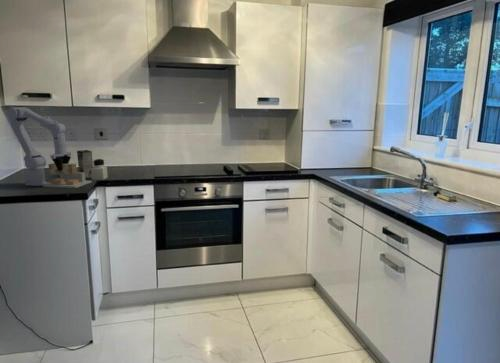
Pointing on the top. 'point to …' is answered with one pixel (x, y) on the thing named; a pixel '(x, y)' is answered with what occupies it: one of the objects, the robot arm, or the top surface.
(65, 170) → the ash bar
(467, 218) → the top surface
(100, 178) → the medicine bottle
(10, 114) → the robot arm
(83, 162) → the coffee box
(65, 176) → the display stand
